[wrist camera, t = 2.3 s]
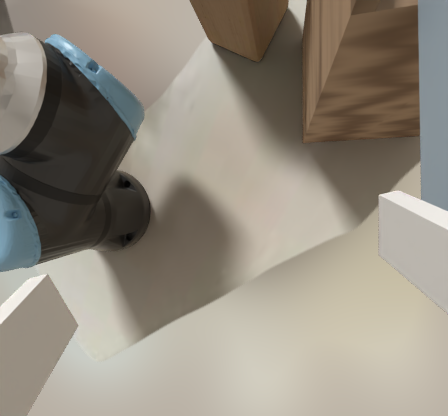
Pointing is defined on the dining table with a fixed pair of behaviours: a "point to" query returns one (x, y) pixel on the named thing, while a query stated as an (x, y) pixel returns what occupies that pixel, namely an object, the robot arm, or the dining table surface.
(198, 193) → the dining table surface
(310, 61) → the walnut stand
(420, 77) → the slate rail
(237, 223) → the dining table surface
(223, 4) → the wooden block
